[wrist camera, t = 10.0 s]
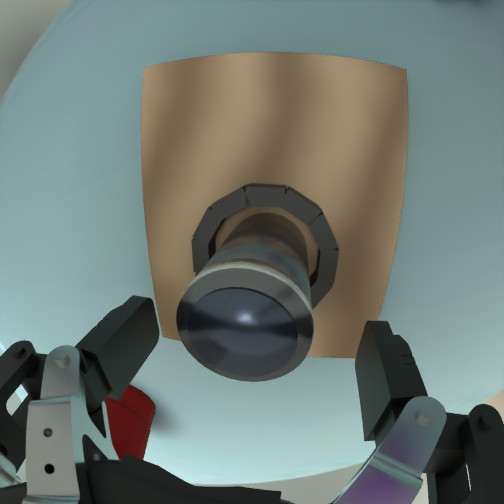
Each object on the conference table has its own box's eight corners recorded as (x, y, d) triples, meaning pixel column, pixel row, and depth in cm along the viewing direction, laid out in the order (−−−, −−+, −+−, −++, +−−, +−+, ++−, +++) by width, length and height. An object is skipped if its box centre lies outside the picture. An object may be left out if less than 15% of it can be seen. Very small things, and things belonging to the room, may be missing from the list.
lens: (311, 214, 15) (324, 280, 8) (303, 290, 17) (303, 391, 9) (226, 209, 16) (164, 266, 8) (227, 284, 18) (182, 374, 10)
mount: (399, 73, 12) (417, 61, 9) (362, 348, 19) (369, 373, 17) (152, 71, 14) (130, 61, 12) (168, 328, 22) (154, 350, 19)
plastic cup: (158, 432, 30) (128, 497, 19) (94, 388, 29) (51, 448, 18) (191, 409, 26) (155, 498, 15) (109, 353, 25) (49, 431, 14)
